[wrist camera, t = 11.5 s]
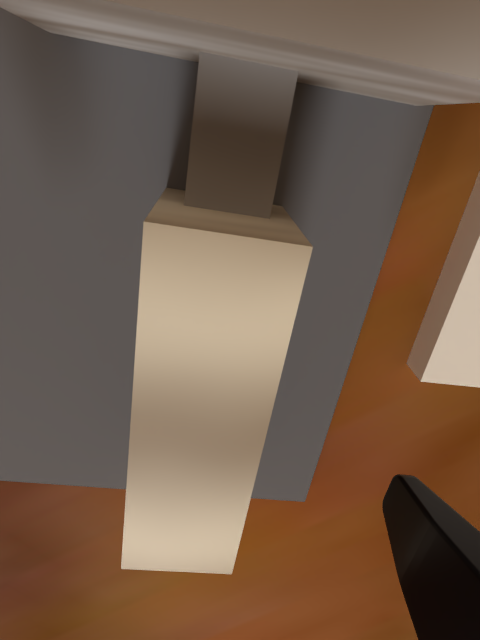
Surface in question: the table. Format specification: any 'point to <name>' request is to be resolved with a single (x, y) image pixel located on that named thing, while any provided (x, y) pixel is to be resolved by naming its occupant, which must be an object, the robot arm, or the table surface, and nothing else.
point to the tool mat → (126, 247)
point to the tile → (454, 311)
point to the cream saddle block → (239, 232)
